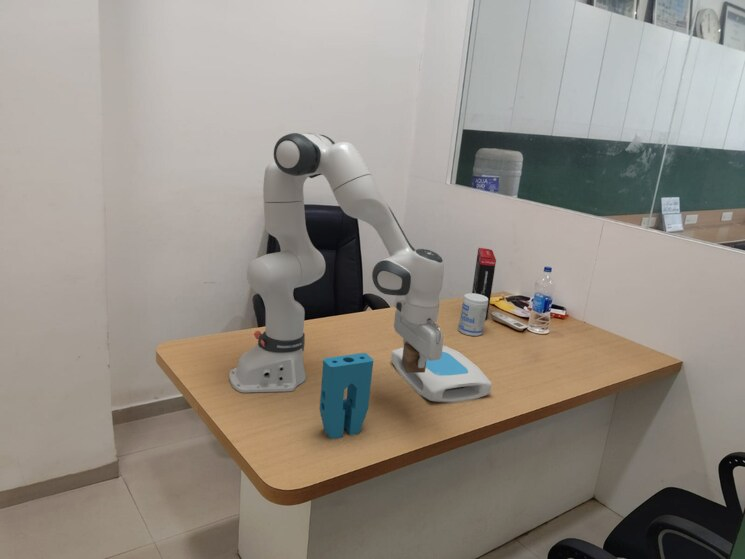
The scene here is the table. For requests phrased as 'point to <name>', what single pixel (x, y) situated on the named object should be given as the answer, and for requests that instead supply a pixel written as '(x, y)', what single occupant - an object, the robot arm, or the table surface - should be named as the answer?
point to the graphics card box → (484, 274)
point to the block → (335, 380)
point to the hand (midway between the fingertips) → (413, 360)
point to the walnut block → (411, 360)
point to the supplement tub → (473, 314)
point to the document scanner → (446, 377)
